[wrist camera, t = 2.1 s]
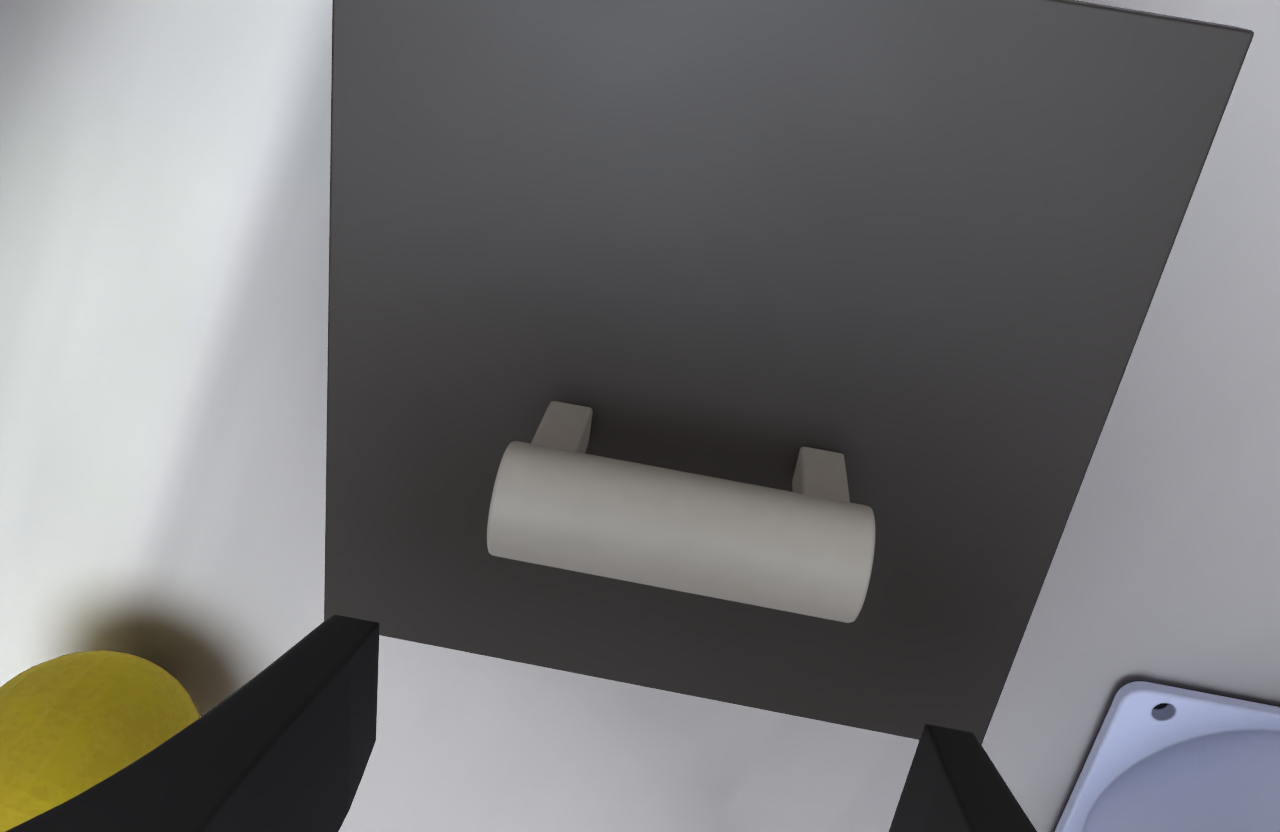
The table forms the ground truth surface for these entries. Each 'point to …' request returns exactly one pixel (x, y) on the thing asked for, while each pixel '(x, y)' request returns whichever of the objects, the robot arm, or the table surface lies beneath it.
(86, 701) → the lemon
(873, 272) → the dark grey box lid
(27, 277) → the table surface
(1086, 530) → the table surface
